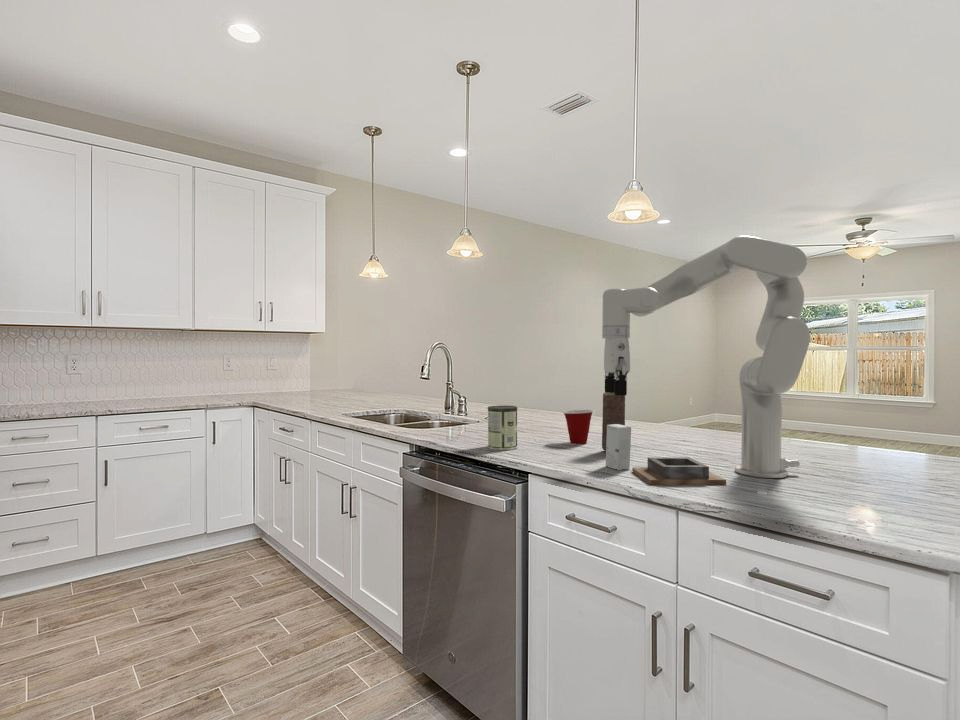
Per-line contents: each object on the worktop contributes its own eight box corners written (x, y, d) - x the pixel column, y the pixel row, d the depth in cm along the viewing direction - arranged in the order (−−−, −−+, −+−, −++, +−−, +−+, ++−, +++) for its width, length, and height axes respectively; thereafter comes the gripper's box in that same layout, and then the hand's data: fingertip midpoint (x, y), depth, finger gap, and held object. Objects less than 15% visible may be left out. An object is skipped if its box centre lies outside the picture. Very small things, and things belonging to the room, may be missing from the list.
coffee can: (497, 444, 185) (497, 404, 185) (522, 446, 179) (522, 406, 179) (481, 448, 176) (481, 407, 176) (508, 451, 171) (508, 409, 171)
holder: (700, 471, 142) (701, 456, 142) (726, 484, 128) (726, 467, 128) (632, 471, 141) (632, 456, 141) (650, 484, 127) (650, 467, 127)
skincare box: (604, 466, 148) (605, 424, 148) (617, 465, 150) (617, 423, 150) (618, 470, 143) (618, 427, 143) (631, 469, 144) (631, 426, 144)
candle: (625, 455, 165) (626, 392, 165) (602, 454, 166) (602, 392, 166) (624, 450, 173) (624, 391, 172) (601, 449, 174) (601, 390, 174)
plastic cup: (570, 439, 195) (570, 407, 195) (597, 442, 189) (597, 409, 188) (557, 443, 186) (557, 410, 186) (585, 446, 180) (585, 412, 180)
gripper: (639, 332, 137) (638, 396, 137) (619, 334, 154) (619, 391, 154) (611, 331, 136) (610, 396, 137) (594, 334, 154) (594, 391, 154)
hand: (615, 393), depth 145 cm, fingers open, 9 cm apart
